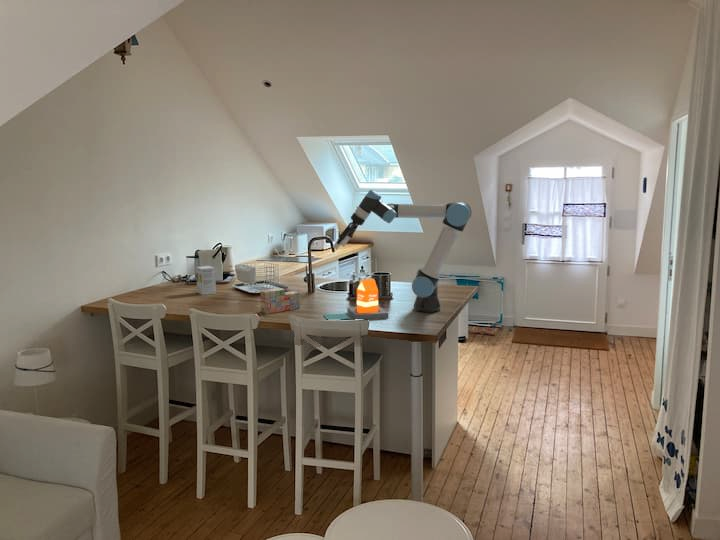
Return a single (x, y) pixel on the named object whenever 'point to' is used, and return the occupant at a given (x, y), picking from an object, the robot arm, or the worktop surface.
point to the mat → (336, 316)
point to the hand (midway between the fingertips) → (338, 247)
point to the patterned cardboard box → (278, 300)
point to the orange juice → (367, 296)
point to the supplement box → (206, 280)
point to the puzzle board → (367, 314)
